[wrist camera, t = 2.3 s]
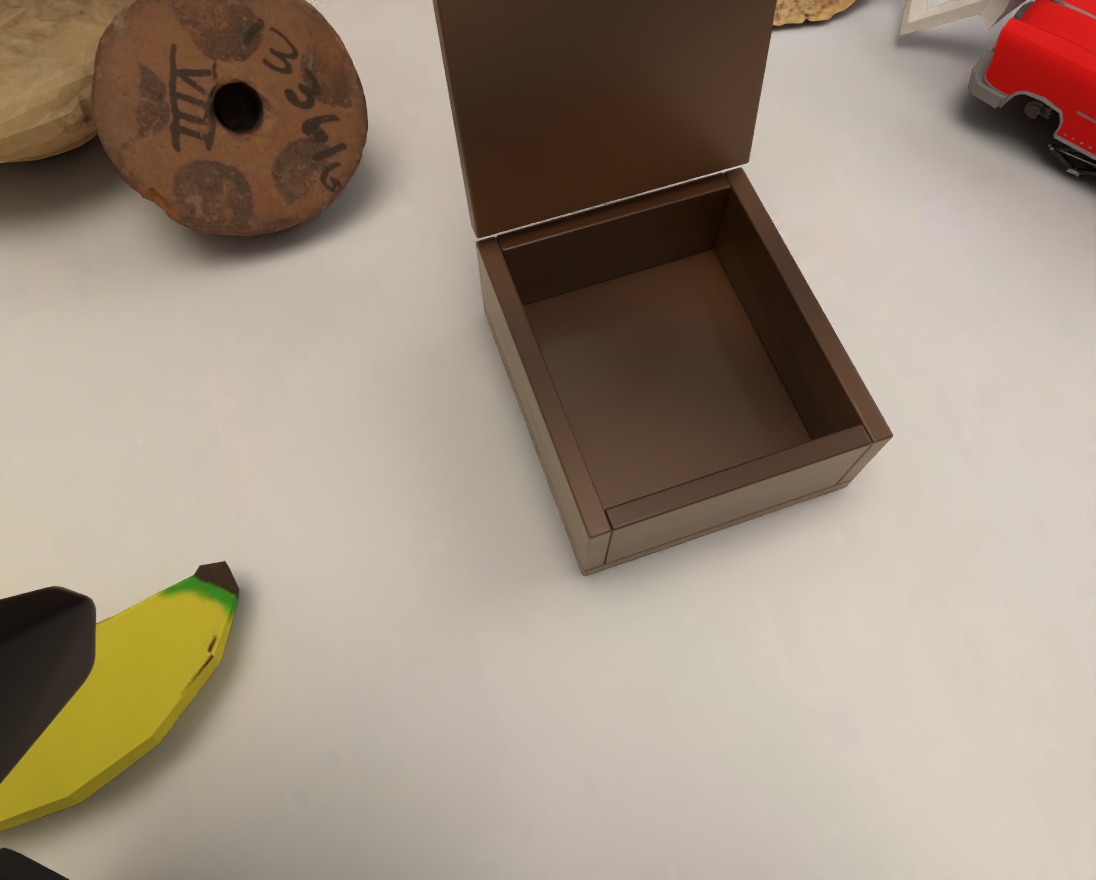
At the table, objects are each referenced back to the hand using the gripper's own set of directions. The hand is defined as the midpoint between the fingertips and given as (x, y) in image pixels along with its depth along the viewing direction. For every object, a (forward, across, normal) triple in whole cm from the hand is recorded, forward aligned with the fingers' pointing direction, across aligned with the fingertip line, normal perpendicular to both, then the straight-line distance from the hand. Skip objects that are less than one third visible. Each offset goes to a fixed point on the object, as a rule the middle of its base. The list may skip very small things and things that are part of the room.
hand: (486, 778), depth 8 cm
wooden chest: (+18, 0, +2) cm, 18 cm away
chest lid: (+15, +3, -7) cm, 17 cm away
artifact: (+21, +17, -3) cm, 27 cm away
